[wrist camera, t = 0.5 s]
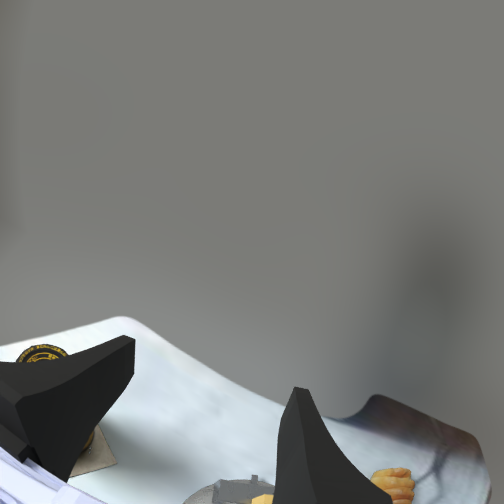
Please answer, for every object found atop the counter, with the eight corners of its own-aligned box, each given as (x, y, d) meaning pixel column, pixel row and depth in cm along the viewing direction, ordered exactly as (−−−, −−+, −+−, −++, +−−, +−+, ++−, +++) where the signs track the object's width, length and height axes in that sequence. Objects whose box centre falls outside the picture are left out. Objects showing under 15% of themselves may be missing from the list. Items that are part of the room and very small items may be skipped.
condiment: (85, 393, 27) (75, 326, 20) (117, 463, 22) (114, 425, 16) (26, 406, 22) (-8, 341, 16) (52, 481, 17) (14, 449, 11)
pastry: (401, 533, 22) (422, 527, 20) (359, 535, 21) (381, 531, 19) (401, 475, 30) (420, 465, 27) (363, 472, 29) (382, 462, 27)
